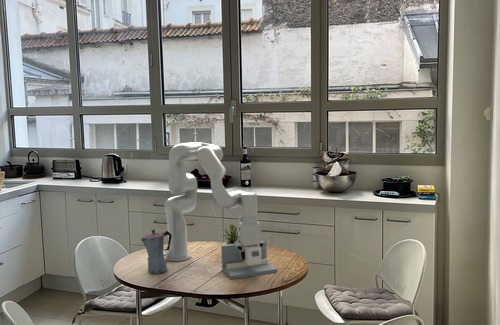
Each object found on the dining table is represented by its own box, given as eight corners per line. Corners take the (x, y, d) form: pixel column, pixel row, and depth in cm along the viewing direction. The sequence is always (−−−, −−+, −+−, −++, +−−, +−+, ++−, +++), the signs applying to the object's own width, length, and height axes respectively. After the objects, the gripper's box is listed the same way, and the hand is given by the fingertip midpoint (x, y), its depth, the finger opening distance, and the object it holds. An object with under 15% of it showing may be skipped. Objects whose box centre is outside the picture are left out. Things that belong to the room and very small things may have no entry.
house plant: (215, 251, 250) (214, 221, 248) (240, 248, 254) (239, 218, 252) (222, 259, 236) (221, 227, 235) (248, 255, 241) (247, 224, 239)
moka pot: (138, 272, 220) (136, 230, 218) (167, 264, 230) (165, 224, 228) (148, 277, 213) (145, 234, 211) (177, 269, 223) (175, 228, 220)
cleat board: (231, 279, 208) (230, 253, 206) (222, 269, 221) (221, 245, 219) (277, 271, 215) (276, 247, 214) (265, 263, 228) (265, 239, 227)
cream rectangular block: (249, 266, 208) (249, 250, 207) (240, 257, 220) (239, 243, 219) (262, 264, 210) (261, 248, 209) (252, 256, 222) (251, 241, 221)
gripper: (233, 223, 207) (235, 263, 209) (270, 219, 213) (271, 258, 215) (228, 220, 214) (229, 258, 216) (263, 216, 220) (264, 253, 222)
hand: (250, 258), depth 215 cm, fingers closed on cream rectangular block, 6 cm apart
